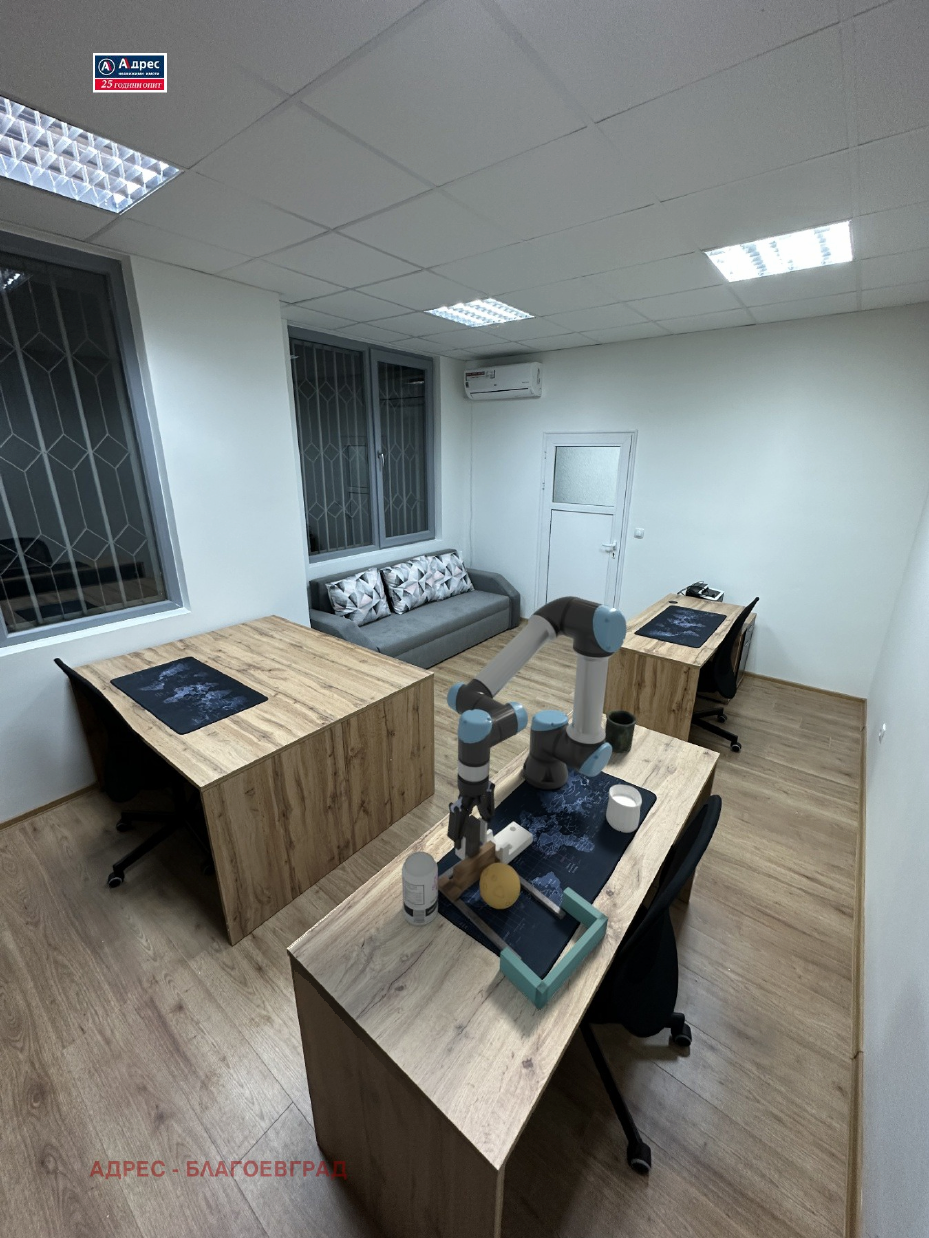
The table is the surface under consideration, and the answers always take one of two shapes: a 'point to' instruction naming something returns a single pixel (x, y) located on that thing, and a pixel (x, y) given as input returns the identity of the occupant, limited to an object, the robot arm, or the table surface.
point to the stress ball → (499, 885)
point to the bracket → (510, 841)
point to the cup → (623, 808)
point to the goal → (545, 989)
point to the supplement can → (420, 888)
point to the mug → (620, 730)
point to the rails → (485, 927)
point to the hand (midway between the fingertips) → (471, 848)
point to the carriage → (469, 862)
